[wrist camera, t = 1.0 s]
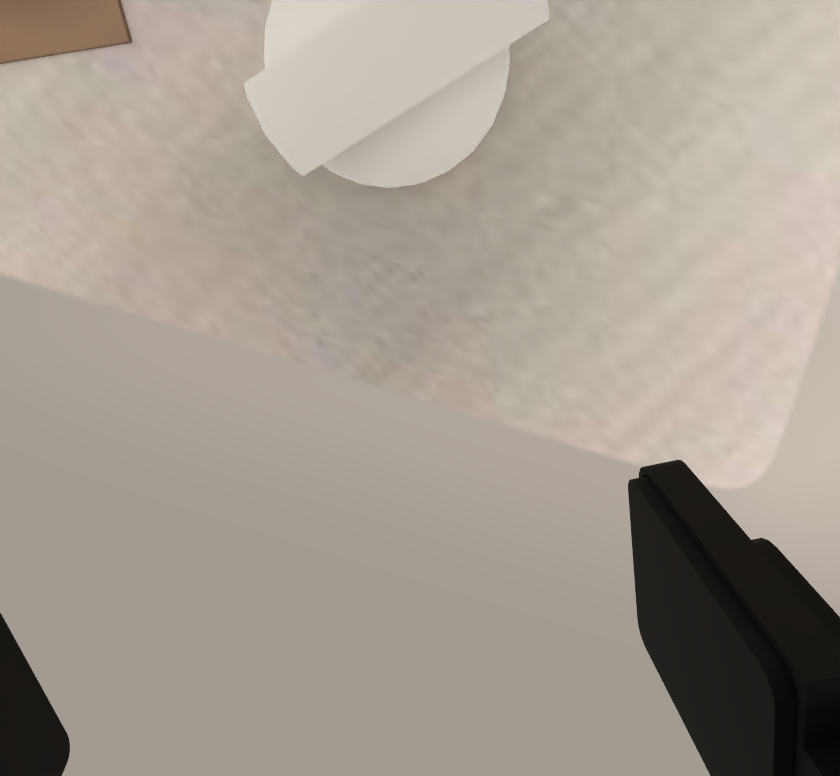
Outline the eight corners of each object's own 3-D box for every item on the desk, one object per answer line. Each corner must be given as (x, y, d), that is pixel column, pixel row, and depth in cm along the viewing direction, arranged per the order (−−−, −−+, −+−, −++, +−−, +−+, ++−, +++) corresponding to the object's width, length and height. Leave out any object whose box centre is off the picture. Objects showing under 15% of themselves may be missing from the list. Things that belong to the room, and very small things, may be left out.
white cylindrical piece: (419, -98, 29) (456, -218, 18) (518, 105, 32) (601, 110, 21) (239, 25, 30) (168, -16, 19) (352, 209, 33) (348, 265, 22)
